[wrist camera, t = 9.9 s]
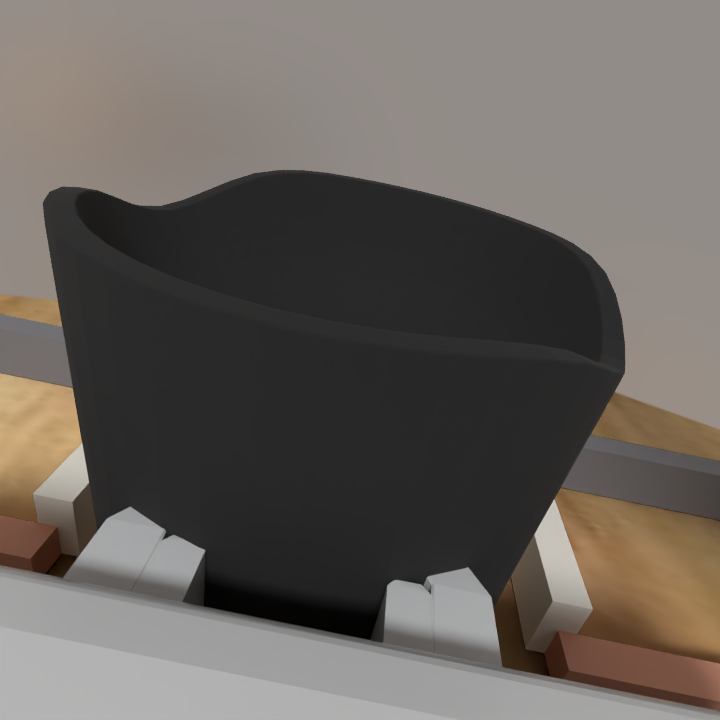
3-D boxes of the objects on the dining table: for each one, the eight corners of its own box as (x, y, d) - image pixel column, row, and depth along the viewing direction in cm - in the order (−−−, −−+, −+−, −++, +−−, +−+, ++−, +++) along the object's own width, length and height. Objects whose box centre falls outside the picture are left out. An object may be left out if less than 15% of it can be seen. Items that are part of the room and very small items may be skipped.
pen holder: (545, 718, 12) (799, 341, 7) (89, 923, 8) (-50, 383, 3) (381, 456, 19) (449, 187, 14) (106, 493, 15) (73, 141, 10)
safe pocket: (562, 657, 13) (592, 609, 12) (43, 549, 13) (32, 493, 12) (511, 461, 20) (527, 421, 19) (173, 392, 20) (173, 349, 19)
